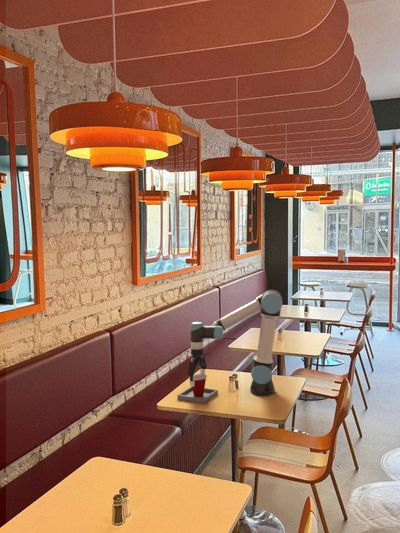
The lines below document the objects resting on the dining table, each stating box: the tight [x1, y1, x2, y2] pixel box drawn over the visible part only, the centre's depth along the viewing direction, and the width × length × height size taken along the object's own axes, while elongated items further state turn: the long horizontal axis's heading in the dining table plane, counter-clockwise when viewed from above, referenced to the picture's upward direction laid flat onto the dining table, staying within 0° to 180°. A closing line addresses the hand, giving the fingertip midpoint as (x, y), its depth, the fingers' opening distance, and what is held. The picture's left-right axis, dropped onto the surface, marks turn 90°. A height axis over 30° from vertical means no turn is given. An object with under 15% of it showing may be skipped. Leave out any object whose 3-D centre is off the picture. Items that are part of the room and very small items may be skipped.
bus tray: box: [177, 386, 219, 405], centre depth 297 cm, size 18×18×3 cm
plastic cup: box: [188, 373, 208, 397], centre depth 297 cm, size 11×11×12 cm
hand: (197, 382), depth 296 cm, fingers open, 13 cm apart
